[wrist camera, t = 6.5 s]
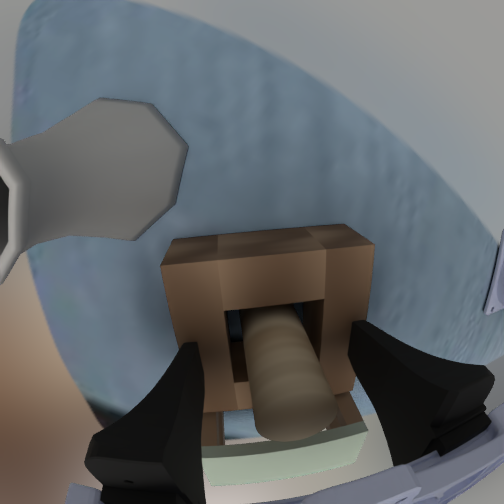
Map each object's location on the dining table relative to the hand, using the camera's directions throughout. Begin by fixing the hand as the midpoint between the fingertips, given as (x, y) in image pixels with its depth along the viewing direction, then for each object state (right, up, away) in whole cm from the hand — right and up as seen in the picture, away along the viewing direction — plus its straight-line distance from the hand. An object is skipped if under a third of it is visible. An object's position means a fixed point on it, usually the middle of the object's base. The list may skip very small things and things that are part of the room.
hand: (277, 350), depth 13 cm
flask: (-8, +9, 0) cm, 12 cm away
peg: (0, +1, +4) cm, 4 cm away
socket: (0, +1, +4) cm, 4 cm away
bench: (0, -5, +6) cm, 8 cm away
